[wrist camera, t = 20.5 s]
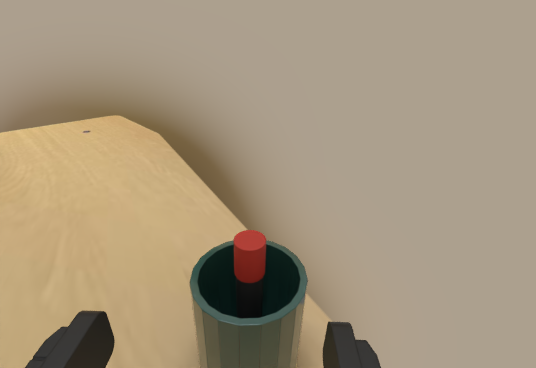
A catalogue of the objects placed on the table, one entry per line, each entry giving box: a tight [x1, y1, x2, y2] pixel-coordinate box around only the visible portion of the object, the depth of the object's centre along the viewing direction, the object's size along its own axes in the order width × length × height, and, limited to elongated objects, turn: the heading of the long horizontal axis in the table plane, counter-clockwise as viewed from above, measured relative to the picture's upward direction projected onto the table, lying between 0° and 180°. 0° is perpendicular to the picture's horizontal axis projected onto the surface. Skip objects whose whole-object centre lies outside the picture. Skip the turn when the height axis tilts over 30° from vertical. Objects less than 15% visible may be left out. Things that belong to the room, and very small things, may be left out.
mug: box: [190, 241, 308, 368], centre depth 26 cm, size 12×9×12 cm
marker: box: [234, 230, 266, 318], centre depth 24 cm, size 2×2×14 cm
